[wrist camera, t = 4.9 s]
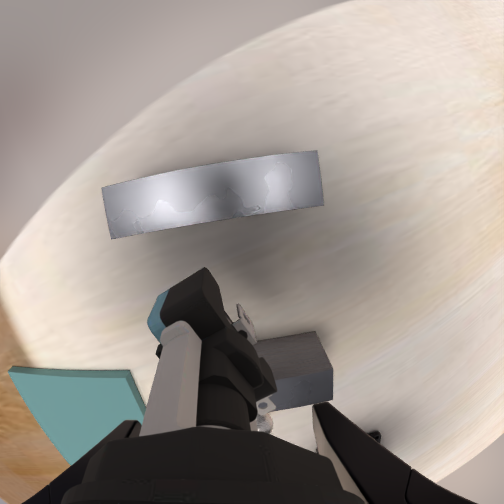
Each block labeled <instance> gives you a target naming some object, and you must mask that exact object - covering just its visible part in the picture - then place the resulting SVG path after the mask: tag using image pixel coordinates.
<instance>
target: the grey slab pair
mask: <svg viewBox="0 0 504 504" xmlns="http://www.w3.org/2000/svg"><path fill="white" fill-rule="evenodd" d="M102 194H103V200H104V206H105V211H106V216H107V221H108V226H109V231H110V236H111V239H116V238H121V237H126V236H132V235H137V234H142V233H148V232H153V231H159V230H165V229H170V228H176V227H182V226H188V225H194V224H200V223H206V222H212V221H218V220H224V219H231V218H237V217H244V216H251V215H257V214H264V213H271V212H278V211H285V210H293V209H300V208H308V207H315V206H323V205H324V199H323V191H322V182H321V174H320V167H319V159H318V152H317V150H316V151H305V152H295V153H286V154H277V155H269V156H261V157H253V158H246V159H239V160H233V161H226V162H220V163H214V164H208V165H202V166H197V167H191V168H186V169H181V170H176V171H171V172H166V173H161V174H157V175H152V176H147V177H143V178H139V179H134V180H130V181H126V182H122V183H118V184H114V185H110V186H106V187H102ZM253 347H254V348H255V350H256V352H257V354H258V357H259V358H260V357H263V358H264V359H265V360H266V362H267V363H268V365H269V366H270V368H271V370H272V372H273V376H274V379H275V383H276V386H277V392H276V393H274V394H272V396H270V397H268V398H269V399H270V400H271V401H272V402H273V403H274V405H275V406H276V409H275V410H273V411H278V410H284V409H290V408H295V407H301V406H306V405H311V404H316V403H321V402H325V401H330V400H333V368H332V365H331V363H330V361H329V359H328V357H327V355H326V353H325V351H324V349H323V346H322V344H321V342H320V340H319V338H318V336H317V334H316V332H315V331H314V332H309V333H303V334H298V335H292V336H286V337H280V338H274V339H268V340H261V341H257V343H256V344H254V345H253ZM267 405H268V404H267V403H265V402H262V403H260V404H259V405H258V407H259V408H265V407H266V406H267ZM256 423H257V429H258V431H262V432H266V433H268V434H270V433H271V431H272V429H273V420H272V418H271V416H270V415H269V414H268V413H266V414H264V415H259V414H257V417H256Z"/></svg>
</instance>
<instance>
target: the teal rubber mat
mask: <svg viewBox="0 0 504 504" xmlns="http://www.w3.org/2000/svg"><path fill="white" fill-rule="evenodd" d="M8 373H9V375H10V377H11V379H12V381H13V382H14V384H15V386H16V388H17V390H18V391H19V393H20V395H21V396H22V398H23V400H24V401H25V403H26V405H27V406H28V408H29V410H30V411H31V413H32V414H33V416H34V417H35V419H36V420H37V422H38V423H39V425H40V426H41V428H42V429H43V431H44V432H45V433H46V435H47V436H48V437H49V439H50V440H51V442H52V443H53V444H54V446H55V447H56V448H57V449H58V451H59V452H60V453H61V455H62V456H63V457H64V458H65V459H66V461H67V462H68V463H69V464H70V465H73V464H74V463H75V462H76V461H77V460H79V459H80V458H81V457H82V456H83V455H84V454H86V453H87V452H88V451H89V450H90V449H92V448H93V447H94V446H95V445H96V444H97V443H99V442H100V441H101V440H102V439H103V438H104V437H106V436H107V435H108V434H109V433H110V432H111V431H113V430H114V429H115V428H116V427H117V426H118V425H119V424H121V423H122V422H123V421H124V420H138V421H139V422H140V423H141V425H142V423H143V419H144V415H145V411H146V407H145V405H144V403H143V401H142V398H141V396H140V394H139V392H138V390H137V387H136V385H135V383H134V380H133V378H132V376H131V373H130V371H129V370H117V371H86V370H55V369H39V368H26V367H15V366H12V367H11V369H10V370H9V371H8Z"/></svg>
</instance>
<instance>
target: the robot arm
mask: <svg viewBox="0 0 504 504" xmlns="http://www.w3.org/2000/svg"><path fill="white" fill-rule="evenodd" d="M312 413H313V429H314V434H315V438H316V443H317V447H318V449H317V450H316V453H317V454H320V455H323V456H325V457H328V458H329V459H330V460H331V461H332V463H333V465H334V468H335V470H336V473H337V475H338V478H339V480H340V483H341V485H342V487H343V490H346V491H348V492H351V493H354V494H355V495H357V496H359V497H360V498H361V499H362V500H363V501H364V503H365V504H477V503H475V502H472V501H470V500H468V499H465V498H463V497H461V496H459V495H457V494H455V493H452V492H451V491H449V490H447V489H445V488H443V487H441V486H439V485H437V484H436V483H434V482H433V481H431V480H429V479H428V478H426V477H425V476H423V475H422V474H420V473H419V472H418V471H416V470H415V469H411V466H409V465H408V464H406V463H405V462H404V461H402V460H401V459H400V458H398V457H397V456H396V455H394V454H393V453H392V452H390V451H389V450H388V449H386V448H385V447H384V446H382V445H381V444H380V440H381V434H380V432H375V433H371V434H367V433H366V432H364V431H363V430H362V429H361V428H359V427H358V426H357V425H356V424H354V423H353V422H352V421H351V420H349V419H348V418H347V417H346V416H344V415H343V414H342V413H341V412H340V411H338V410H337V409H336V408H335V407H333V406H332V405H331V404H330V403H329V402H321V403H317V404H314V405H313V406H312ZM141 427H142V425H141V423H140V422H139V421H138V420H124V421H123V422H122V423H121V424H119V425H118V426H117V427H116V428H115V429H114V430H113V431H111V432H110V433H109V434H108V435H107V436H106V437H104V438H103V439H102V440H101V441H100V442H99V443H97V444H96V445H95V446H94V447H93V448H92V449H90V450H89V451H88V452H87V453H86V454H84V455H83V456H82V457H81V458H80V459H79V460H77V461H76V462H75V463H74V464H73V465H71V466H70V467H69V468H68V469H66V470H65V471H64V472H63V473H62V474H60V475H59V476H58V477H57V478H55V479H54V480H53V481H52V482H50V484H49V485H47V486H45V487H44V488H43V489H42V490H40V491H39V492H38V493H36V494H35V495H34V496H32V497H31V498H29V499H28V500H26V501H25V502H23V503H22V504H61V502H62V499H63V496H64V494H65V493H66V492H67V491H68V490H69V489H70V488H72V487H74V486H76V485H79V484H82V480H83V477H84V474H85V471H86V468H87V466H88V463H89V460H90V459H91V457H93V456H94V455H95V454H96V453H97V452H98V451H99V450H100V449H101V448H102V447H103V446H104V445H105V444H106V443H107V442H108V441H110V440H114V439H122V438H131V437H138V436H139V435H140V431H141Z"/></svg>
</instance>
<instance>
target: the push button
mask: <svg viewBox="0 0 504 504" xmlns="http://www.w3.org/2000/svg"><path fill="white" fill-rule="evenodd" d="M237 311H238V317H239V318H240V319H238V320H237V321H236V322H234V323H233V322H232V320H231V319H230V318H229V316H228V315H227V313H226V312H225V311H224V307H223V303H222V298H221V294H220V289H219V286H218V284H217V282H216V281H215V279H214V278H213V276H212V275H211V273H210V272H209V270H208V269H207V268H206V267H204V268H202V269H201V270H199V271H197V272H196V273H194V274H193V275H191V276H189V277H188V278H186V279H184V280H183V281H181V282H180V283H178V284H176V285H175V286H173V287H171V288H170V289H169V290H167V291H165V292H164V293H162V294H160V295H159V296H158V297H157V300H156V303H155V305H154V307H153V309H152V311H151V313H150V315H149V317H148V320H147V324H148V327H149V329H150V330H151V332H152V333H153V335H154V336H155V337H156V338H157V340H158V341H159V342H160V343H161V344H159V345H158V348H157V351H156V355H157V357H158V358H159V363H158V366H157V370H156V374H155V377H154V381H153V384H152V388H151V392H150V396H149V399H148V403H147V407H146V411H145V415H144V419H143V423H142V427H141V431H140V435H139V436H138V437H131V438H122V439H114V440H110V441H108V442H107V443H106V444H105V445H104V446H103V447H102V448H101V449H100V450H99V451H98V452H97V453H96V454H95V455H94V456H93V457H91V459H90V460H89V463H88V466H87V468H86V471H85V474H84V477H83V480H82V484H79V485H76V486H74V487H72V488H70V489H69V490H68V491H67V492H66V493H65V494H64V496H63V499H62V502H61V504H365V503H364V501H363V500H362V499H361V498H360V497H359V496H357V495H355V494H354V493H351V492H348V491H346V490H343V487H342V485H341V483H340V480H339V478H338V475H337V473H336V470H335V468H334V465H333V463H332V461H331V460H330V459H329V458H328V457H325V456H323V455H320V454H317V453H314V452H312V451H309V450H307V449H304V448H301V447H299V446H296V445H294V444H292V443H289V442H287V441H284V440H282V439H280V438H277V437H275V436H273V435H271V434H268V433H266V432H262V431H258V429H257V423H256V417H257V414H259V415H264V414H266V413H269V412H271V411H273V410H275V409H276V406H275V405H274V403H273V402H272V401H271V400H270V399H269V398H268V397H270V396H272V394H274V393H276V392H277V386H276V383H275V379H274V376H273V372H272V370H271V368H270V366H269V365H268V363H267V362H266V360H265V359H264V358H263V357H260V358H259V357H258V354H257V352H256V350H255V348H254V347H253V345H254V344H256V343H257V340H256V339H255V338H256V335H255V331H254V327H253V324H252V322H251V320H250V319H249V317H248V316H247V314H246V313H245V311H244V310H243V309H242V307H241V306H240V305H239V304H237ZM246 320H247V321H246ZM262 402H265V403H267V404H268V405H267V406H266V407H265V408H259V407H258V405H259V404H260V403H262Z"/></svg>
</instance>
